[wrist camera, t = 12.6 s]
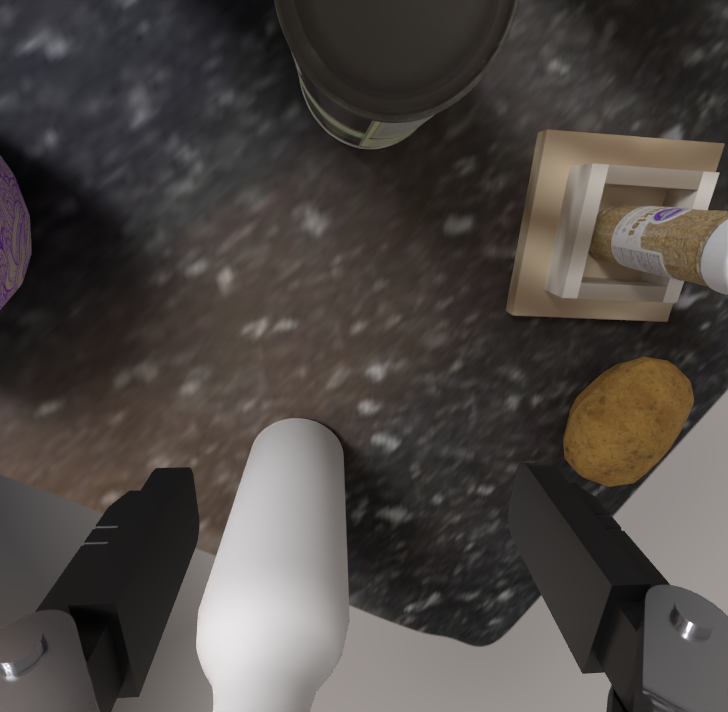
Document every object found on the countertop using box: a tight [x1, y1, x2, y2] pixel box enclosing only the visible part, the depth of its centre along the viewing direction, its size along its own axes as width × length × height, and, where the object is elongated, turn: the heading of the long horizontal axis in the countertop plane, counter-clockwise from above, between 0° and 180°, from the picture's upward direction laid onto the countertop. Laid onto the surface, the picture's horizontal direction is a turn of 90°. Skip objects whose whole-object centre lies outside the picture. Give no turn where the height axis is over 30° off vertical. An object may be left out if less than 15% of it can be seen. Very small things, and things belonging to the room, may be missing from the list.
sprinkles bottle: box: [589, 204, 728, 295], centre depth 28 cm, size 5×5×13 cm
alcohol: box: [196, 418, 349, 712], centre depth 27 cm, size 9×9×30 cm
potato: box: [563, 356, 694, 487], centre depth 38 cm, size 9×13×7 cm
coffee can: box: [274, 0, 519, 149], centre depth 24 cm, size 10×10×14 cm
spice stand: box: [506, 130, 725, 322], centre depth 33 cm, size 14×14×4 cm
